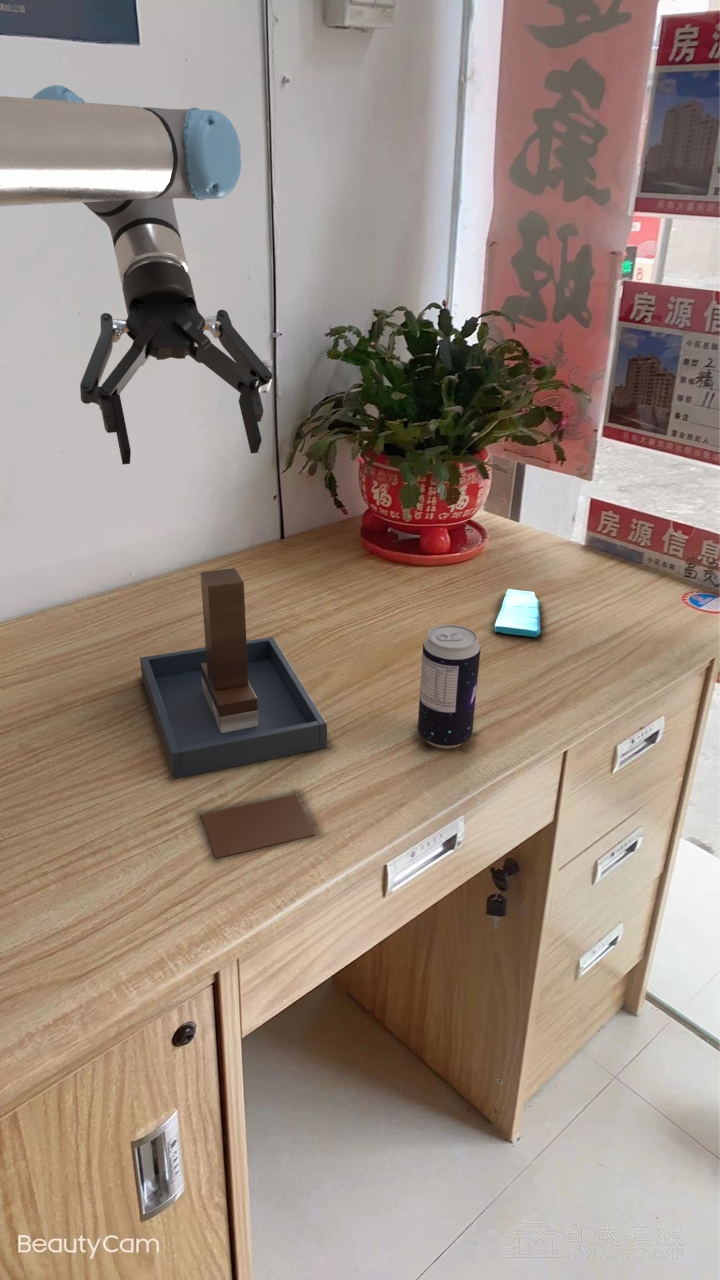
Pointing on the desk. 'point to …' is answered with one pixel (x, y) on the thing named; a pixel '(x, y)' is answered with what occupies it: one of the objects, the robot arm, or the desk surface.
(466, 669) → the beverage can
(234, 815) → the stain
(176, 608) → the desk surface
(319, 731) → the tray
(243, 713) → the brush
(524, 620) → the sponge
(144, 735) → the desk surface
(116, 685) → the desk surface
